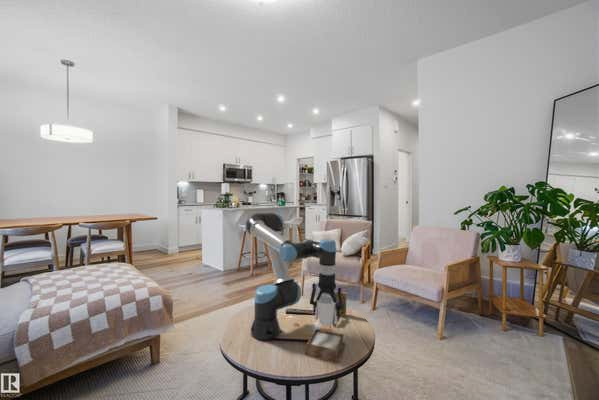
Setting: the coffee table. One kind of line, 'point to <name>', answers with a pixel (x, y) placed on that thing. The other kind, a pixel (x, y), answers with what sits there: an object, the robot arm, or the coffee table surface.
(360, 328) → the coffee table surface
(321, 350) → the brown box
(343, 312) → the figurine
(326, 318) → the cup
